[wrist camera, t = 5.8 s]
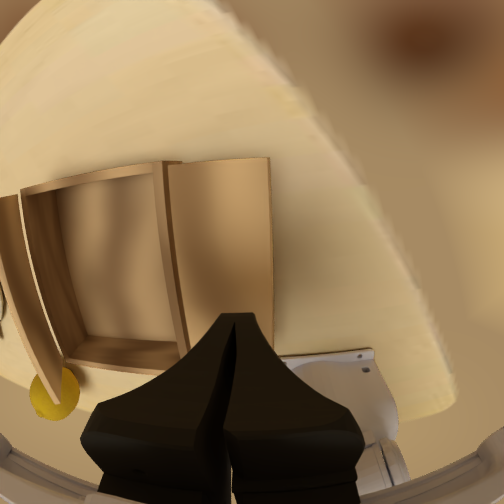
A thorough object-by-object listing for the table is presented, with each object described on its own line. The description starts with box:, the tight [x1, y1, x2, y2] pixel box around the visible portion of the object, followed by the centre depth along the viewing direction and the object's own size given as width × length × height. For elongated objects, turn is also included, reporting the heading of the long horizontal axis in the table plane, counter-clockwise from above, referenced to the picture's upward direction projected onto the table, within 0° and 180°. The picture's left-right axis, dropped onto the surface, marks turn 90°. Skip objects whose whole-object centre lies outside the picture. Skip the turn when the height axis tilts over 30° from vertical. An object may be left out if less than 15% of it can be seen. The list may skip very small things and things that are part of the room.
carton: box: [20, 161, 191, 376], centre depth 19 cm, size 12×15×4 cm
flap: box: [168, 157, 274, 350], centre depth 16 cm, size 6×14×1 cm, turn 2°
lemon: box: [30, 367, 80, 421], centre depth 22 cm, size 6×6×8 cm
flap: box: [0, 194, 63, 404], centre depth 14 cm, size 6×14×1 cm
